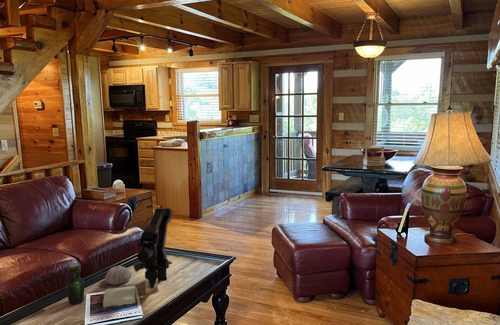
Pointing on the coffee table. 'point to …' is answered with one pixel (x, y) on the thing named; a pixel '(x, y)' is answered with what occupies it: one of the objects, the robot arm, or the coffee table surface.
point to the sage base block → (119, 296)
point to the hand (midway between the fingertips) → (151, 284)
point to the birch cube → (148, 288)
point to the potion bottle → (75, 285)
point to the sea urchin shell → (117, 275)
